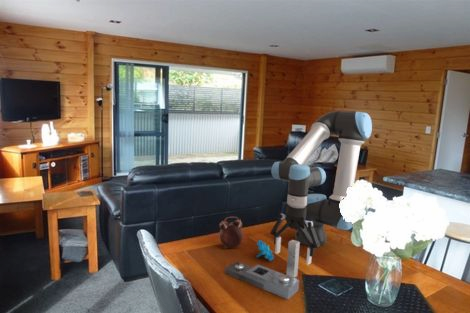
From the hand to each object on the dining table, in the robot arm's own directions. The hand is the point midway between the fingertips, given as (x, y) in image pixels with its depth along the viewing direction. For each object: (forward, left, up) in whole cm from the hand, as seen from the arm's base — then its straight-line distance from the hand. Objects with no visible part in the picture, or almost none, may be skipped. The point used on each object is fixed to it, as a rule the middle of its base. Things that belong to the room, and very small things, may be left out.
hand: (292, 258), depth 135 cm
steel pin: (0, 0, -7) cm, 7 cm away
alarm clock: (-4, -34, -8) cm, 35 cm away
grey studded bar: (+12, -7, -7) cm, 15 cm away
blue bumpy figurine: (-6, -16, -8) cm, 19 cm away
